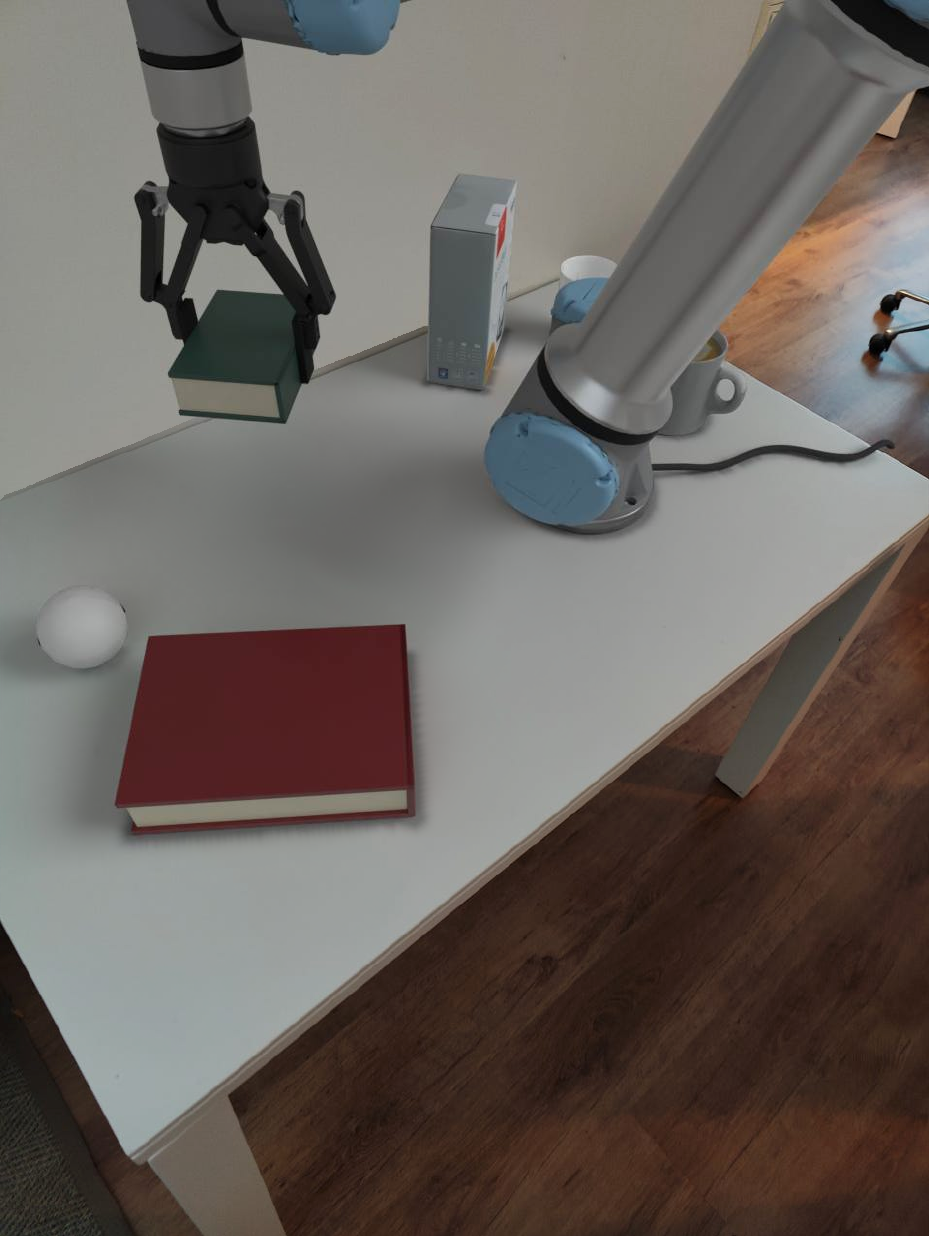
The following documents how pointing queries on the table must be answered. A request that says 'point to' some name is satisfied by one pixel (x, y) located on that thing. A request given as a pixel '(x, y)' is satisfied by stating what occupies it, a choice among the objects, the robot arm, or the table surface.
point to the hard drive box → (469, 279)
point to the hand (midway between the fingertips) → (253, 371)
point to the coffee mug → (703, 389)
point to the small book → (239, 360)
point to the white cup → (585, 269)
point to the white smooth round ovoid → (81, 627)
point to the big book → (270, 730)
